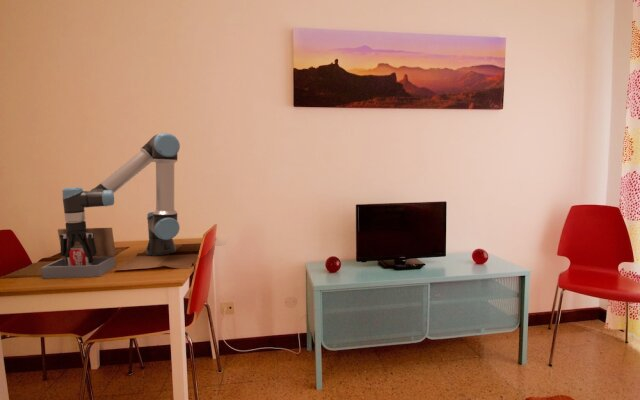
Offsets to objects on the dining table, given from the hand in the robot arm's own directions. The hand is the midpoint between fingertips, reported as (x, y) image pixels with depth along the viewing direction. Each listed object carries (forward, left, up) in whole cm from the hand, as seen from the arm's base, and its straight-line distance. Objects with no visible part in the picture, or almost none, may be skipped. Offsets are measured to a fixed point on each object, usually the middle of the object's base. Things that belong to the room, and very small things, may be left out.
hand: (80, 270), depth 158 cm
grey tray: (0, 0, -1) cm, 1 cm away
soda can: (0, 0, -1) cm, 1 cm away
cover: (0, -7, +11) cm, 13 cm away
